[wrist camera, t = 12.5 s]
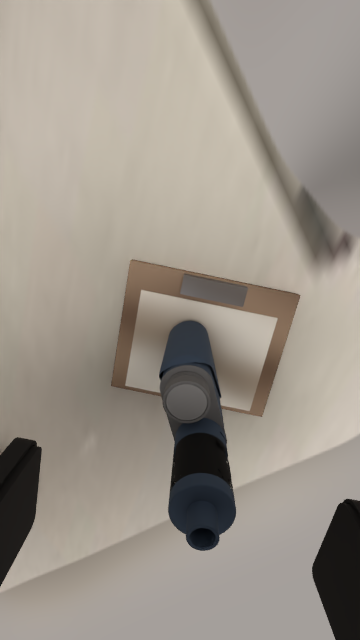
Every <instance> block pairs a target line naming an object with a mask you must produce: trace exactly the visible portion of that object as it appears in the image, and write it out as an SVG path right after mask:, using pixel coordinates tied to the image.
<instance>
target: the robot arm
mask: <svg viewBox="0 0 360 640" xmlns="http://www.w3.org/2000/svg"><path fill="white" fill-rule="evenodd" d="M41 451H42V449H41V447H37V443H36V441H34V440H28V439H23V438H18V437H17V438H15V439H14V440H13V441H12V442H11V443H10V445H9V446H8V447H7V448H6V449H5V451H4V452H3V453H2V454H1V455H0V586H1V584H2V582H3V581H4V579H5V577H6V575H7V573H8V571H9V569H10V567H11V566H12V564H13V562H14V560H15V558H16V556H17V554H18V552H19V551H20V549H21V547H22V545H23V543H24V541H25V539H26V537H27V536H28V534H29V532H30V530H31V528H32V525H33V522H34V519H35V514H36V504H37V493H38V483H39V472H40V462H41ZM312 572H313V573H312V574H313V579H314V582H315V585H316V587H317V590H318V593H319V595H320V598H321V601H322V604H323V607H324V609H325V612H326V615H327V617H328V620H329V623H330V626H331V628H332V631H333V634H334V637H335V639H336V640H360V501H357V500H352V499H346V500H344V502H343V503H340V504H339V505H338V507H337V509H336V512H335V514H334V516H333V519H332V521H331V523H330V526H329V528H328V530H327V533H326V535H325V537H324V540H323V542H322V545H321V547H320V549H319V552H318V554H317V556H316V559H315V561H314V563H313V567H312Z"/></svg>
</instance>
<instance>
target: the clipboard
mask: <svg viewBox="0 0 360 640" xmlns="http://www.w3.org/2000/svg"><path fill="white" fill-rule="evenodd" d="M299 299H300V295H298V294H295V293H290V292H285V291H280V290H276V289H271V288H266V287H261V286H257V285H252V284H247V283H242V282H237V281H233V280H228V279H223V278H218V277H213V276H209V275H204V274H199V273H194V272H189V271H185V270H180V269H175V268H170V267H165V266H161V265H156V264H151V263H146V262H141V261H137V260H130V266H129V273H128V279H127V286H126V292H125V299H124V305H123V312H122V318H121V325H120V331H119V338H118V344H117V351H116V357H115V364H114V370H113V377H112V383H111V386H114V387H119V388H124V389H128V390H133V391H138V392H143V393H148V394H153V395H158V396H161V393H160V382H161V380H160V378H159V372H160V368H161V364H162V360H163V356H164V352H165V348H166V344H167V341H168V337H169V333H170V331H171V330H172V329H173V327H174V326H176V325H177V324H179V323H181V322H184V321H195V322H198V323H200V324H202V325H203V326H204V327H205V328H206V330H207V332H208V336H209V340H210V345H211V350H212V355H213V359H214V364H215V369H216V373H217V378H218V383H219V388H220V392H221V397H222V398H220V403H221V409H226V410H231V411H236V412H241V413H246V414H251V415H256V416H260V417H262V415H263V412H264V409H265V406H266V402H267V399H268V396H269V393H270V390H271V387H272V384H273V380H274V377H275V374H276V371H277V368H278V365H279V361H280V358H281V355H282V352H283V349H284V346H285V343H286V339H287V336H288V333H289V330H290V327H291V324H292V321H293V317H294V314H295V311H296V308H297V305H298V302H299Z"/></svg>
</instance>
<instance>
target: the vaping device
mask: <svg viewBox="0 0 360 640" xmlns="http://www.w3.org/2000/svg"><path fill="white" fill-rule="evenodd" d="M159 378H160V380H161V382H160V393H161V396H162V400H163V407H164V409H165V411H166V413H167V417H168V420H169V424H170V427H171V431H172V434H173V437H174V441H175V445H174V455H173V462H175V463H173V465H172V466H173V467H172V476H171V486H170V497H169V507H168V512H169V517H170V519H171V521H172V523H173V524H174V526H175V527H176V528H177V529H178V530H180V531H181V532H182V533H184V534H186V540H187V542H188V544H189V545H190V546H191V547H192V548H194V549H197V550H202V551H205V550H210V549H212V548H214V547H215V546H216V545H217V544H218V542H219V535H220V534H222V533H224V532H225V531H226V530H227V529H229V528H230V526H231V525H232V524H233V522H234V519H235V516H236V507H235V501H234V494H233V486H232V484H231V483H232V482H231V473H230V466H229V463H226V462H228V460H229V459H228V458H227V457H228V453H227V446H226V444H227V439H226V434H225V430H224V423H223V417H222V410H221V403H220V398H222V397H221V392H220V388H219V383H218V378H217V373H216V369H215V364H214V359H213V355H212V350H211V345H210V340H209V336H208V332H207V330H206V328H205V327H204V326H203V325H202V324H200V323H198V322H195V321H184V322H181V323H179V324H177V325H176V326H174V327H173V329H172V330H171V331H170V333H169V337H168V341H167V344H166V348H165V352H164V356H163V360H162V364H161V368H160V372H159ZM175 482H176V483H175Z"/></svg>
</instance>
